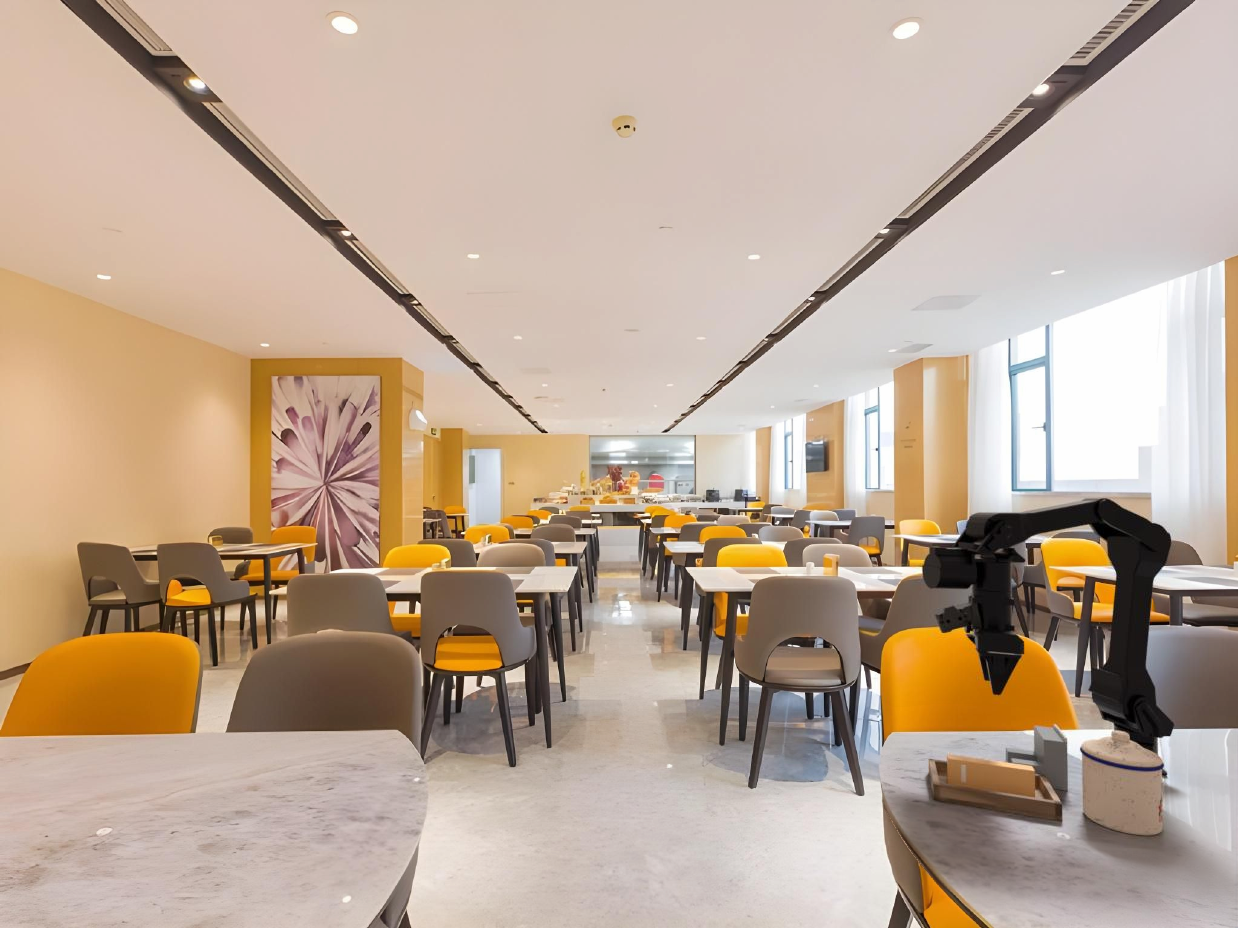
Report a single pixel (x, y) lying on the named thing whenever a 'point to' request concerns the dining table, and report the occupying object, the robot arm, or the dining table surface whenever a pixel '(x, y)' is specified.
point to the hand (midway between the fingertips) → (992, 687)
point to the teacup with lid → (1122, 785)
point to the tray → (996, 795)
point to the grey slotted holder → (1045, 756)
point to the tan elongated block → (991, 775)
